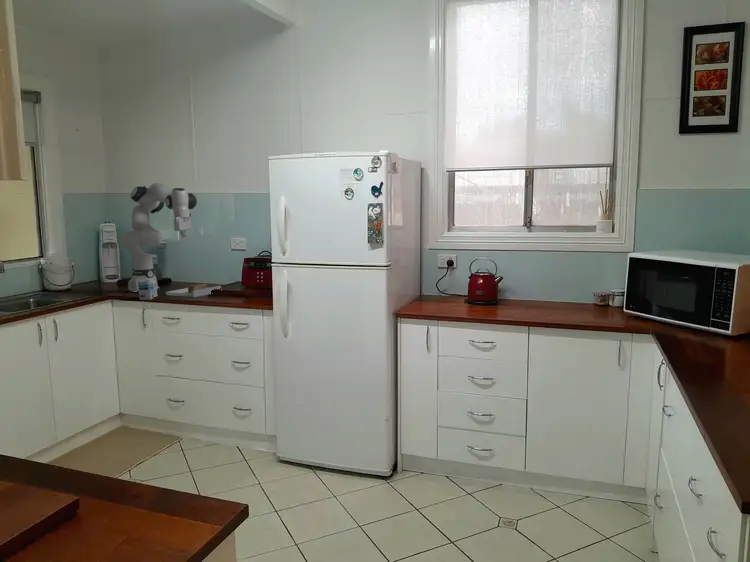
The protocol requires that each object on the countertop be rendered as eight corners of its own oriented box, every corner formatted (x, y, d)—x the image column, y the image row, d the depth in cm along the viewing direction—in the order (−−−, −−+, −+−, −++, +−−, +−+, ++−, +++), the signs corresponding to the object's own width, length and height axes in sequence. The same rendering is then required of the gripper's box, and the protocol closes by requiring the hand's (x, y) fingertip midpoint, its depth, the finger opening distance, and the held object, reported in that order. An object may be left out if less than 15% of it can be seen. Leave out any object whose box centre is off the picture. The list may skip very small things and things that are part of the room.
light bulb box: (150, 299, 333) (148, 281, 332) (139, 300, 333) (137, 281, 332) (157, 296, 344) (156, 278, 342) (146, 297, 344) (144, 279, 342)
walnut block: (188, 292, 339) (187, 286, 338) (200, 290, 348) (200, 283, 347) (194, 293, 337) (193, 286, 336) (207, 290, 345) (206, 283, 345)
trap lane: (166, 295, 347) (165, 289, 347) (194, 289, 365) (193, 284, 364) (193, 297, 334) (193, 291, 333) (221, 291, 351) (221, 285, 351)
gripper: (180, 215, 341) (182, 238, 343) (192, 214, 361) (194, 236, 363) (170, 215, 341) (172, 239, 343) (182, 214, 361) (184, 236, 363)
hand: (183, 237), depth 353 cm, fingers closed
